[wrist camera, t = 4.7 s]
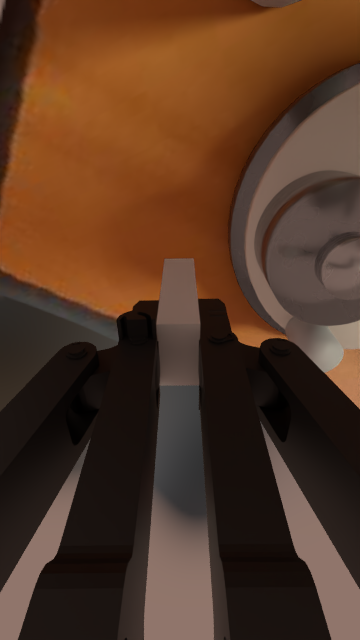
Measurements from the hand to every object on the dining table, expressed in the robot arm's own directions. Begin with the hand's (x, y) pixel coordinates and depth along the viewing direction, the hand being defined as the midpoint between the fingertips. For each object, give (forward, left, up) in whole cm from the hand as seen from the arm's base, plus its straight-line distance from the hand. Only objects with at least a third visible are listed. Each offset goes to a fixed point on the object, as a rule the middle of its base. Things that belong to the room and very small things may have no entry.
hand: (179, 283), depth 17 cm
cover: (0, +10, -8) cm, 13 cm away
